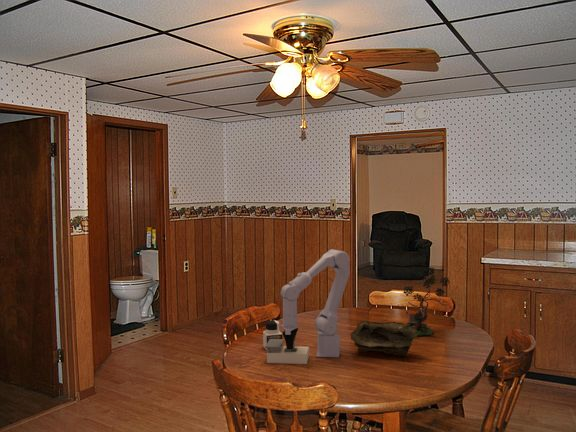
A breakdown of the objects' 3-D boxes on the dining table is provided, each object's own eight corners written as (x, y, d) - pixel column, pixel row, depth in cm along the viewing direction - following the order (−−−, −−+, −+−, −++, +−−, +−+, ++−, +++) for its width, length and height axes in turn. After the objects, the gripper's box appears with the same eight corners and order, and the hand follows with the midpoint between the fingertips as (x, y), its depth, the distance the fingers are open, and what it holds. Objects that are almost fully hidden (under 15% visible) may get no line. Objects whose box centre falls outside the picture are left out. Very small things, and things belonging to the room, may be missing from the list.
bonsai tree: (450, 342, 228) (449, 272, 227) (394, 338, 236) (394, 270, 235) (450, 323, 261) (450, 262, 260) (402, 320, 269) (401, 261, 268)
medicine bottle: (266, 351, 219) (266, 323, 219) (263, 346, 226) (262, 319, 226) (282, 349, 221) (282, 322, 221) (278, 345, 228) (278, 318, 228)
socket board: (309, 355, 212) (309, 339, 212) (306, 364, 201) (306, 347, 201) (270, 354, 214) (269, 338, 214) (265, 363, 203) (265, 346, 203)
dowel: (295, 353, 209) (295, 334, 208) (294, 356, 205) (293, 336, 205) (287, 353, 209) (286, 334, 209) (285, 356, 206) (285, 336, 205)
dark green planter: (418, 369, 207) (426, 337, 215) (411, 354, 198) (420, 321, 207) (354, 357, 221) (364, 327, 230) (346, 342, 213) (356, 312, 221)
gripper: (283, 310, 214) (283, 342, 215) (277, 318, 200) (278, 352, 201) (299, 310, 213) (300, 342, 214) (295, 318, 199) (295, 353, 200)
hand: (290, 347), depth 207 cm, fingers closed on dowel, 3 cm apart
